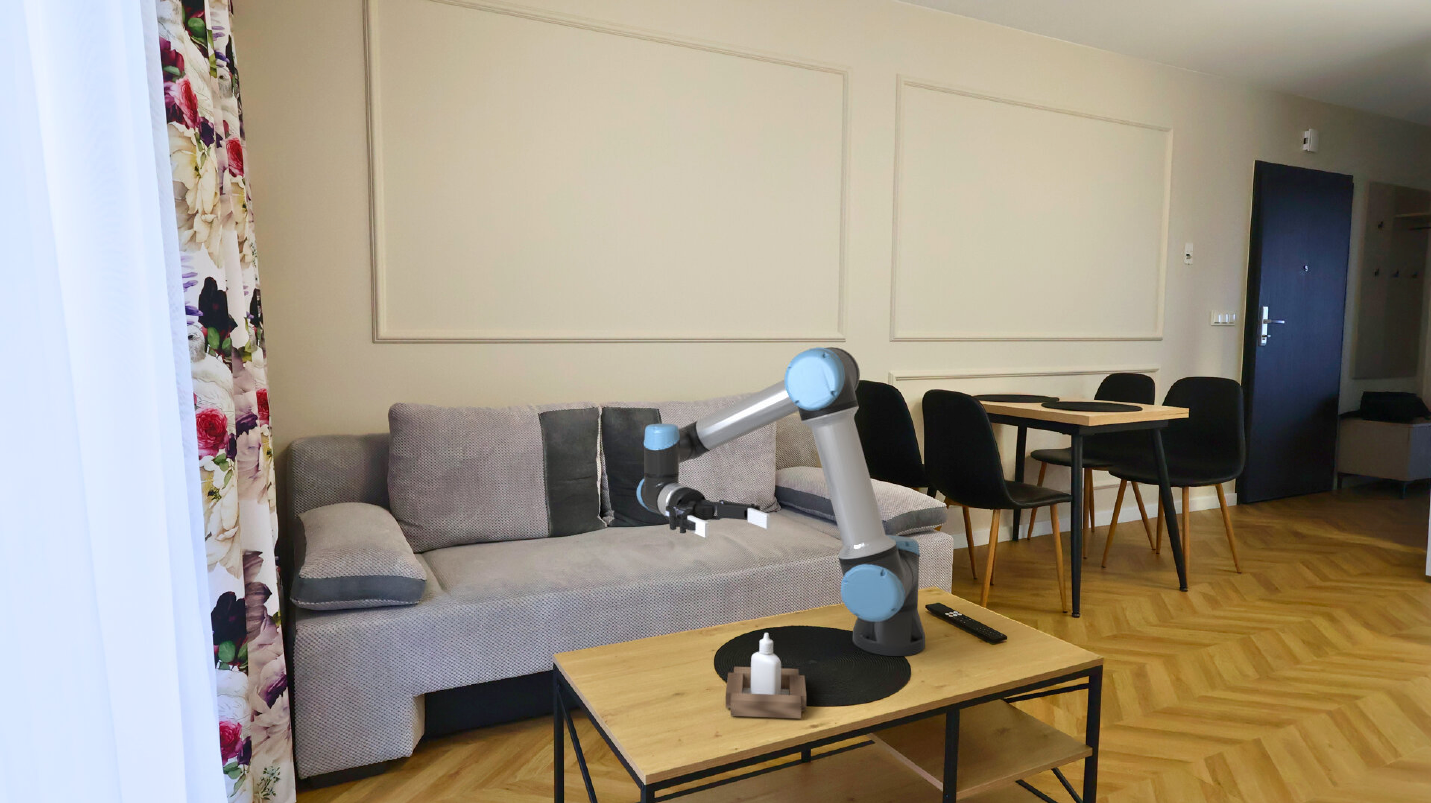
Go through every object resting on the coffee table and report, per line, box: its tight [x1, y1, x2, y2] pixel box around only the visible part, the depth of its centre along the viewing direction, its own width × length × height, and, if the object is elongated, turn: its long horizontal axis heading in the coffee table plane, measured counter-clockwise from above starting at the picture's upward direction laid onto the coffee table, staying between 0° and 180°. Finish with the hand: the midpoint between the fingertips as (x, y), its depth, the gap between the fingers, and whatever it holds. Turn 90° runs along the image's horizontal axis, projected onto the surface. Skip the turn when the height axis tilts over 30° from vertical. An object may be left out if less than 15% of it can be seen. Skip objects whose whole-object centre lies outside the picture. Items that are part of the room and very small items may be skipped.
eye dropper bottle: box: [750, 632, 782, 695], centre depth 147 cm, size 4×6×12 cm
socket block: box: [725, 666, 807, 719], centre depth 147 cm, size 14×14×3 cm
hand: (738, 525), depth 153 cm, fingers open, 13 cm apart
